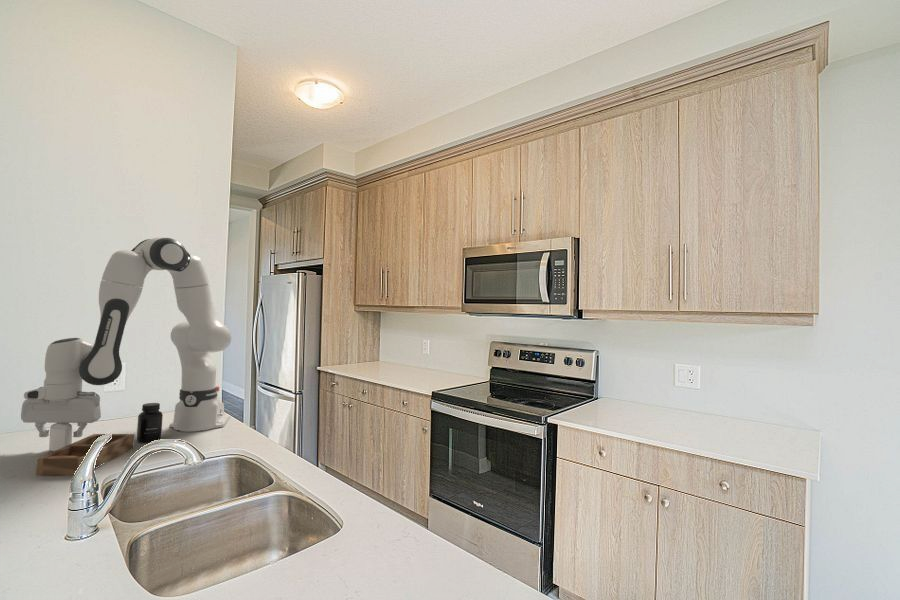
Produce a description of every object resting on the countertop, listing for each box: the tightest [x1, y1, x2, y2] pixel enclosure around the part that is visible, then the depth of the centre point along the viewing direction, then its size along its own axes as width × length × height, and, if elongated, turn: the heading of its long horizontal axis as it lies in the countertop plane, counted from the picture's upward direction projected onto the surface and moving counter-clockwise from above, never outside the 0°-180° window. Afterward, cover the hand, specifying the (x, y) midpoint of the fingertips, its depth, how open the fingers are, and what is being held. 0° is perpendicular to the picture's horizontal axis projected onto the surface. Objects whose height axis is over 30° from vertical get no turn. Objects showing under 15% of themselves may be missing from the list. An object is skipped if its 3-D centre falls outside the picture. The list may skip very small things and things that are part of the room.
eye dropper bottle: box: [48, 423, 73, 452], centre depth 133 cm, size 4×6×12 cm
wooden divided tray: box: [35, 433, 135, 476], centre depth 125 cm, size 22×12×5 cm, turn 7°
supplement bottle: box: [136, 402, 164, 444], centre depth 145 cm, size 7×7×12 cm
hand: (60, 436), depth 133 cm, fingers open, 8 cm apart
